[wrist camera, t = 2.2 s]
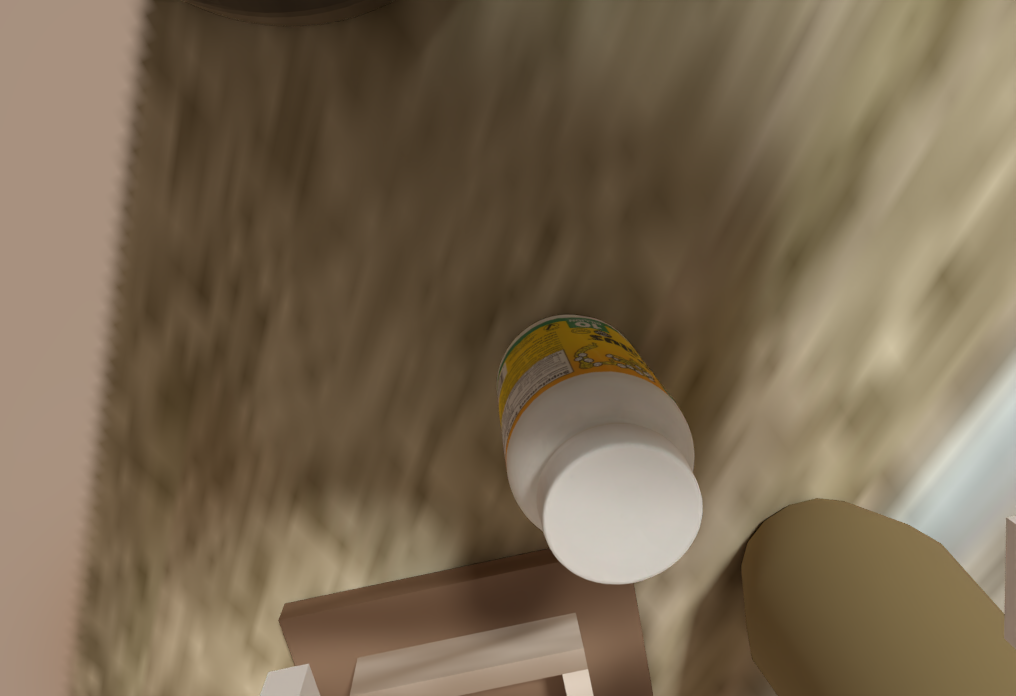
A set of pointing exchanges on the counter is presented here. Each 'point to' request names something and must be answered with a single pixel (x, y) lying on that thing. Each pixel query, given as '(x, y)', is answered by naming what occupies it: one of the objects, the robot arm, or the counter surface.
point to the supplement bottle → (597, 451)
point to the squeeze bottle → (867, 609)
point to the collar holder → (474, 634)
